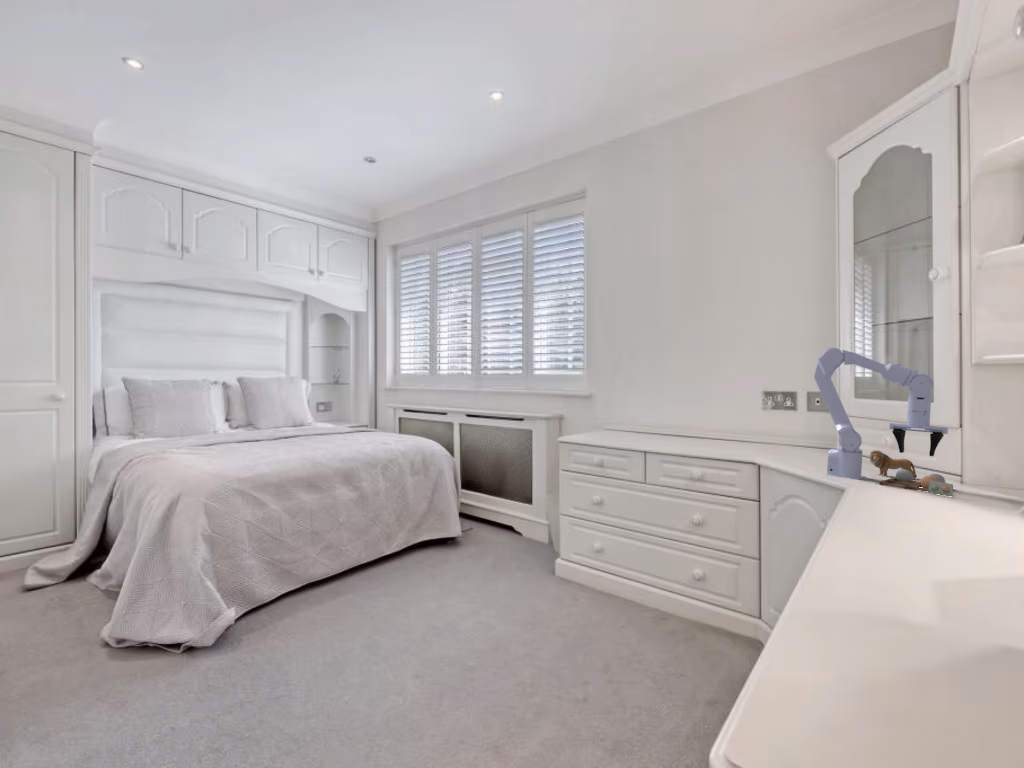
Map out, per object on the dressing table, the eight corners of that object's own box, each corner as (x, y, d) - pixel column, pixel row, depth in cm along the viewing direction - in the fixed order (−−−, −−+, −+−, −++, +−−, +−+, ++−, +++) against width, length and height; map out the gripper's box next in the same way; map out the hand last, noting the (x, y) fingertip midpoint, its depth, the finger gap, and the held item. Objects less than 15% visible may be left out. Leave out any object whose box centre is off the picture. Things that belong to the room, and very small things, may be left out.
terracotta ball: (918, 490, 153) (919, 475, 153) (922, 488, 156) (923, 474, 156) (937, 492, 150) (938, 477, 150) (941, 491, 152) (941, 476, 152)
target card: (928, 494, 148) (929, 480, 148) (928, 494, 149) (929, 480, 148) (951, 498, 144) (952, 484, 144) (952, 498, 145) (952, 483, 144)
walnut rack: (879, 485, 159) (879, 481, 159) (893, 480, 169) (893, 477, 169) (942, 495, 148) (943, 491, 148) (953, 490, 157) (954, 486, 157)
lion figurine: (871, 476, 176) (873, 450, 176) (865, 474, 181) (867, 448, 181) (922, 481, 172) (923, 454, 172) (914, 478, 177) (916, 452, 177)
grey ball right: (924, 487, 158) (925, 473, 158) (928, 486, 160) (929, 472, 160) (943, 490, 154) (944, 475, 154) (946, 488, 157) (947, 474, 157)
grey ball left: (893, 482, 164) (894, 468, 164) (897, 481, 167) (898, 467, 167) (910, 485, 160) (911, 471, 160) (914, 483, 163) (915, 470, 163)
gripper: (887, 409, 165) (885, 451, 165) (945, 413, 154) (942, 458, 154) (893, 409, 170) (891, 450, 170) (950, 413, 159) (948, 456, 159)
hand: (916, 454), depth 162 cm, fingers open, 7 cm apart
